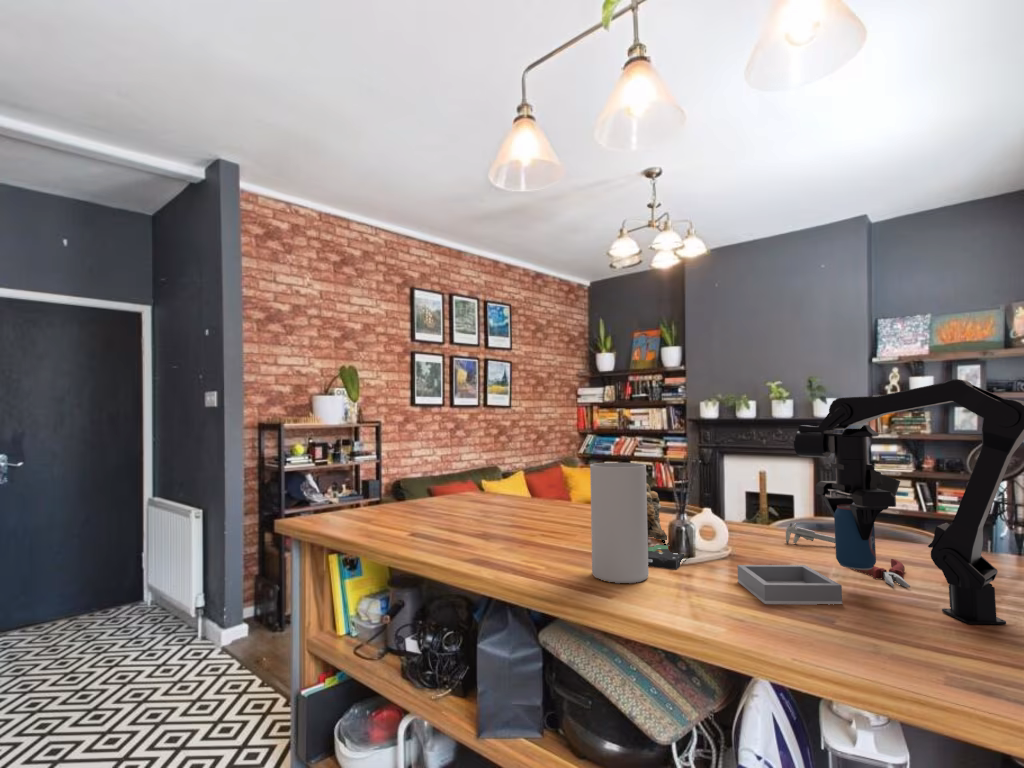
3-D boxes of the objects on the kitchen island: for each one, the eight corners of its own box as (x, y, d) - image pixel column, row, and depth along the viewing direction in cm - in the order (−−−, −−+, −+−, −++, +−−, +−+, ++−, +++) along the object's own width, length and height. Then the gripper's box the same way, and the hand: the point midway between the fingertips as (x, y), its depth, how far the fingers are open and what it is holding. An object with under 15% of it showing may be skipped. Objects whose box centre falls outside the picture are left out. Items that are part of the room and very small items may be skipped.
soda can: (883, 571, 109) (879, 509, 109) (844, 570, 110) (841, 508, 110) (867, 562, 115) (864, 504, 116) (830, 561, 117) (828, 503, 117)
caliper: (786, 544, 156) (785, 522, 156) (786, 544, 157) (785, 521, 157) (871, 550, 148) (870, 526, 149) (870, 549, 149) (869, 525, 150)
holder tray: (842, 604, 105) (841, 585, 106) (765, 604, 106) (764, 584, 106) (805, 582, 120) (805, 565, 120) (738, 581, 120) (737, 565, 121)
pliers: (870, 590, 116) (869, 577, 116) (843, 565, 135) (842, 554, 135) (935, 595, 112) (934, 582, 112) (897, 569, 131) (897, 557, 132)
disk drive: (678, 572, 131) (690, 557, 144) (677, 560, 131) (690, 546, 144) (634, 566, 135) (650, 553, 148) (634, 555, 136) (650, 542, 149)
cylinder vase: (604, 566, 134) (602, 462, 135) (655, 573, 127) (652, 463, 129) (583, 579, 123) (581, 466, 125) (638, 588, 117) (635, 468, 118)
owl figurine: (664, 551, 149) (662, 487, 150) (621, 548, 154) (619, 485, 154) (672, 537, 166) (670, 479, 167) (632, 534, 170) (631, 478, 171)
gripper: (923, 462, 104) (927, 546, 103) (864, 455, 123) (868, 526, 122) (862, 462, 105) (866, 546, 104) (813, 455, 123) (816, 526, 122)
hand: (854, 535), depth 113 cm, fingers closed on soda can, 7 cm apart
